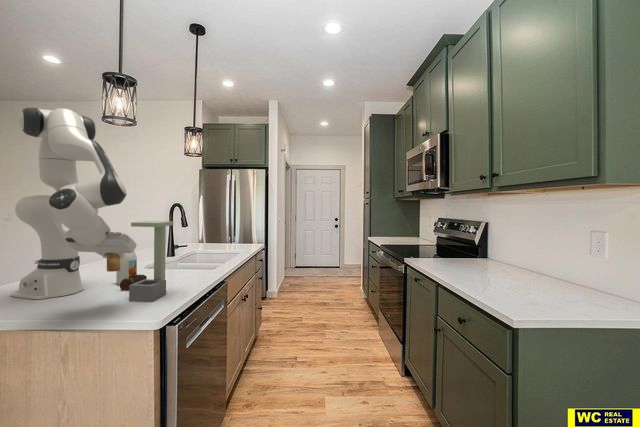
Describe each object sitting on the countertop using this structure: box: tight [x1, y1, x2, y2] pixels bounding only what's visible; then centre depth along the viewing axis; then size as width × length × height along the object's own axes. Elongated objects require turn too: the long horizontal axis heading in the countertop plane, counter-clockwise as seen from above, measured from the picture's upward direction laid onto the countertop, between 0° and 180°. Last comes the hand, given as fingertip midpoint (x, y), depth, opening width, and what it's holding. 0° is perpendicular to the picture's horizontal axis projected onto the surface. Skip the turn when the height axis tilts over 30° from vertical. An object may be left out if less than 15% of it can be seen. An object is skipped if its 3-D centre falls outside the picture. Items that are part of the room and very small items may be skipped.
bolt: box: [118, 274, 148, 292], centre depth 128 cm, size 6×5×15 cm
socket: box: [128, 278, 167, 303], centre depth 113 cm, size 9×9×6 cm
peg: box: [106, 253, 120, 273], centre depth 104 cm, size 4×4×9 cm
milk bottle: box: [115, 250, 138, 286], centre depth 132 cm, size 8×8×20 cm
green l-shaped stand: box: [130, 220, 174, 280], centre depth 115 cm, size 10×12×30 cm
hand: (114, 256), depth 105 cm, fingers closed on peg, 4 cm apart
